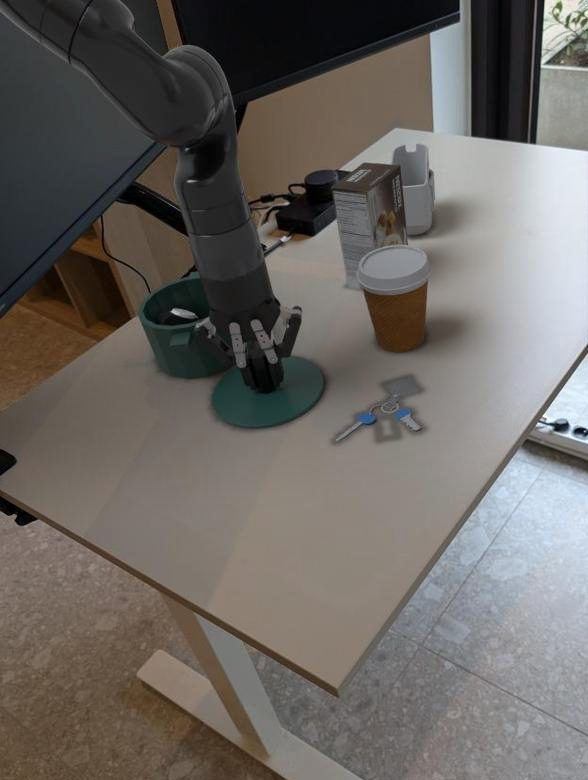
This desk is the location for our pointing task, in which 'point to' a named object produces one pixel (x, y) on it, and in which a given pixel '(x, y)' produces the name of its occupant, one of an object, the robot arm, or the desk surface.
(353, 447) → the desk surface
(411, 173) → the cable organizer
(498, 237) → the desk surface
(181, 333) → the pot
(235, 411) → the lid
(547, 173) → the desk surface
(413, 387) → the key chain
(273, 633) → the desk surface
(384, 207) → the coffee box
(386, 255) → the disposable coffee cup
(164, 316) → the watch
